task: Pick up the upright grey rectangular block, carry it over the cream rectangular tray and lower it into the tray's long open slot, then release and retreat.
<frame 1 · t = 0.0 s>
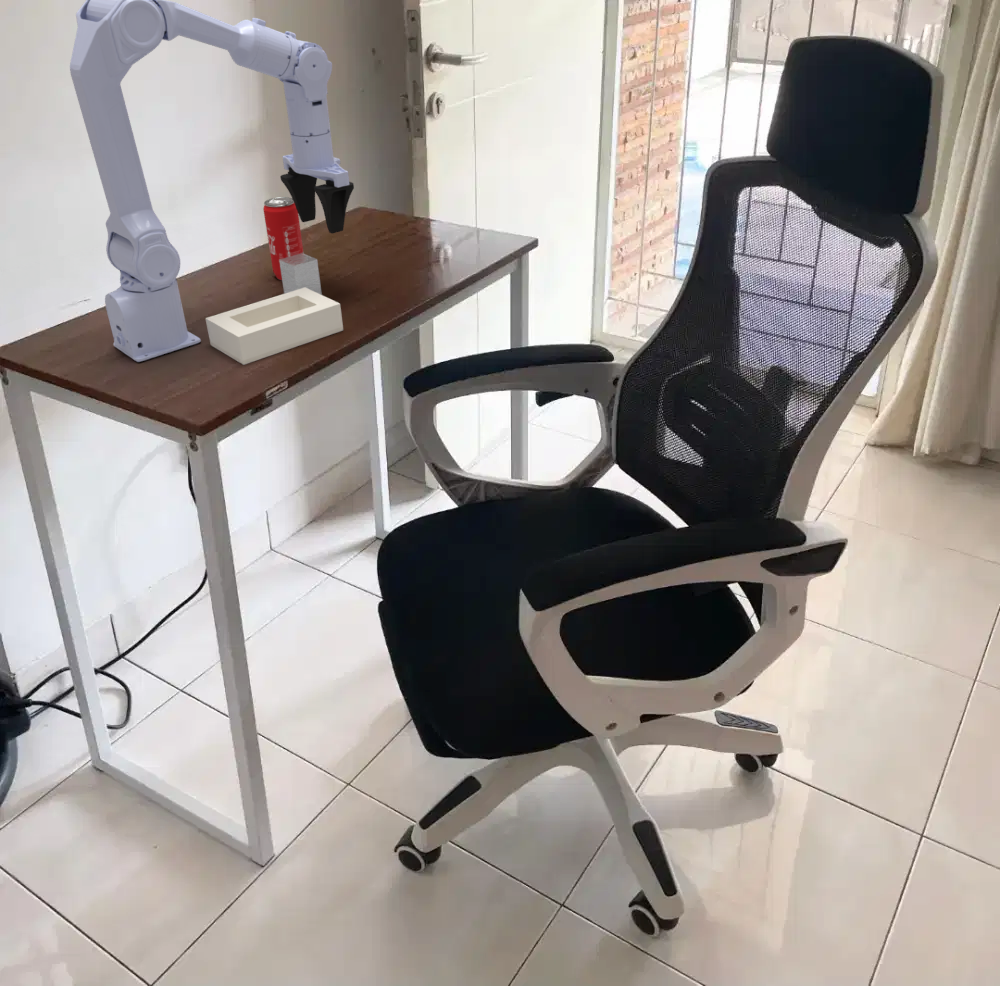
hand: (322, 226, 150), 10 cm above the table, fingers open, 7 cm apart
grey rectangular block: (304, 304, 151), on the table
cream rectangular tray: (277, 337, 141), on the table
beverage can: (290, 277, 162), on the table
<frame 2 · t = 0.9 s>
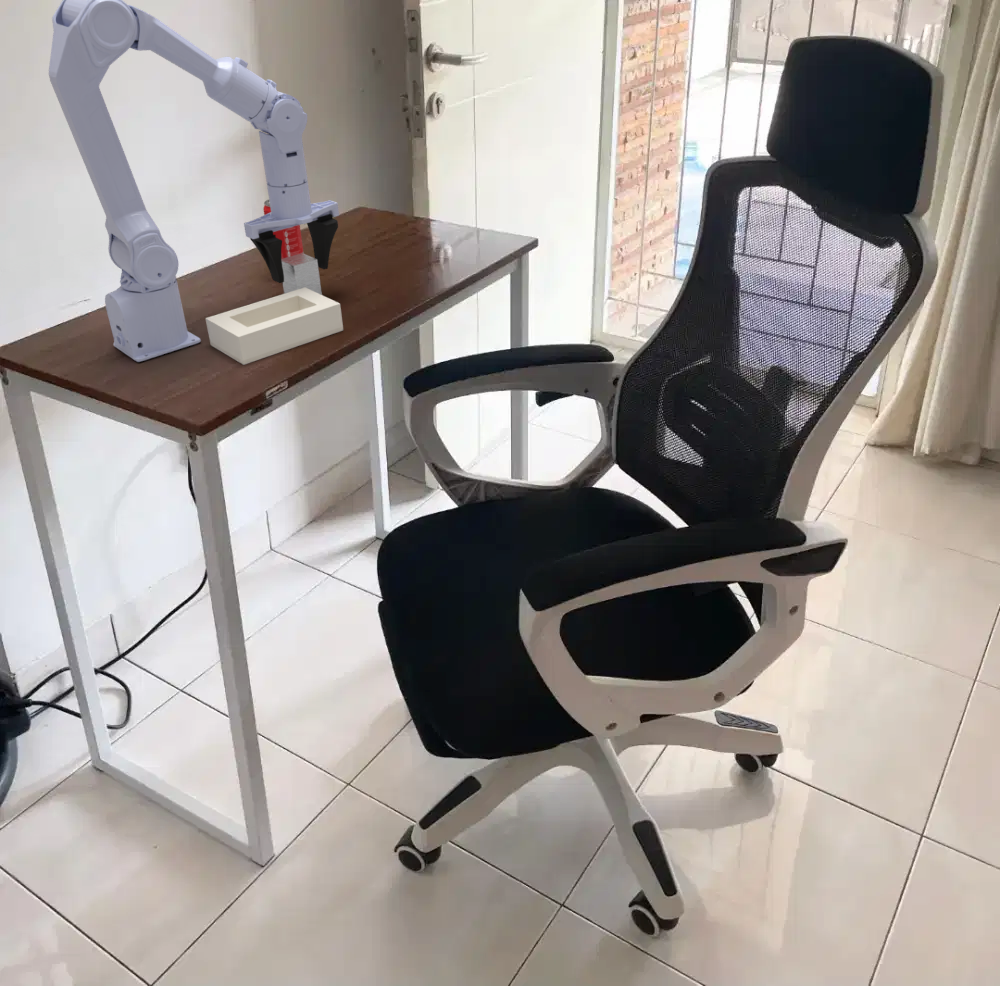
hand: (300, 274, 149), 5 cm above the table, fingers open, 7 cm apart
nothing on the table moved.
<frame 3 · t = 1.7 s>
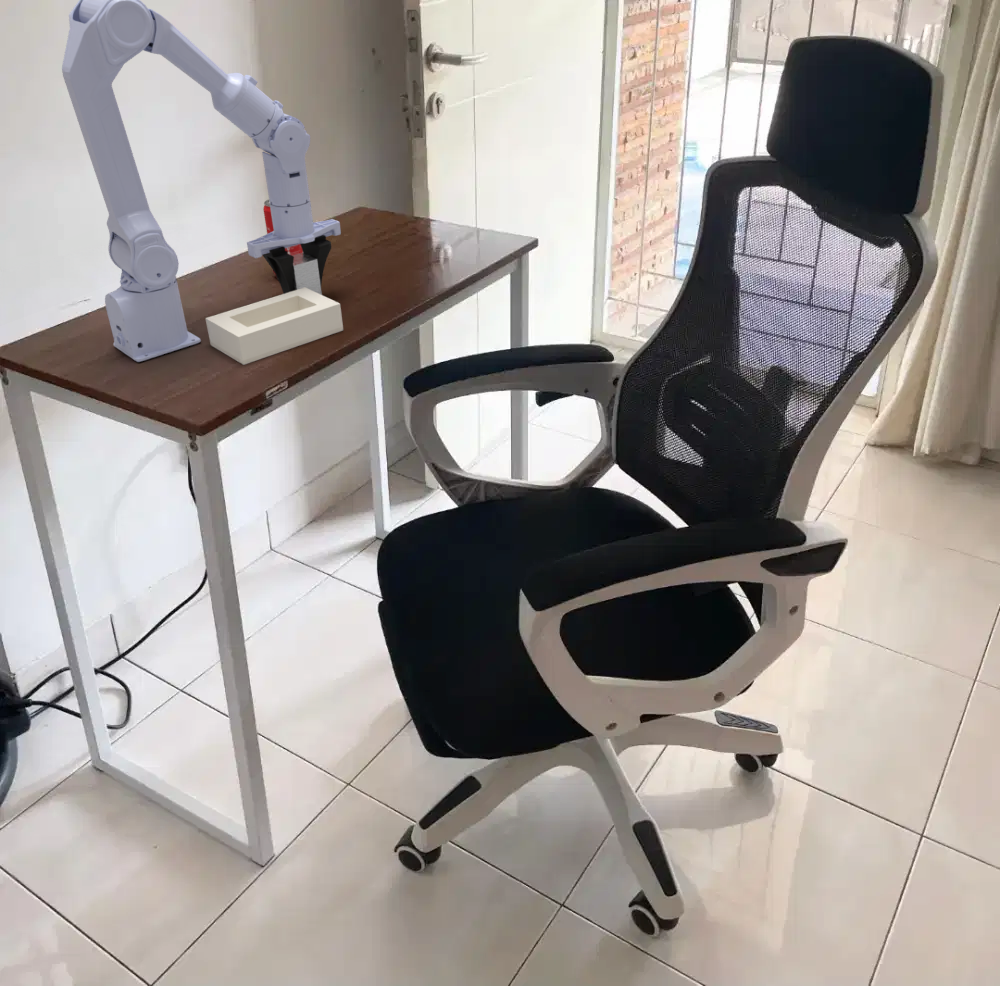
hand: (302, 292, 150), 2 cm above the table, fingers closed on grey rectangular block, 4 cm apart
grey rectangular block: (304, 304, 151), on the table, touching gripper
everything else where it was.
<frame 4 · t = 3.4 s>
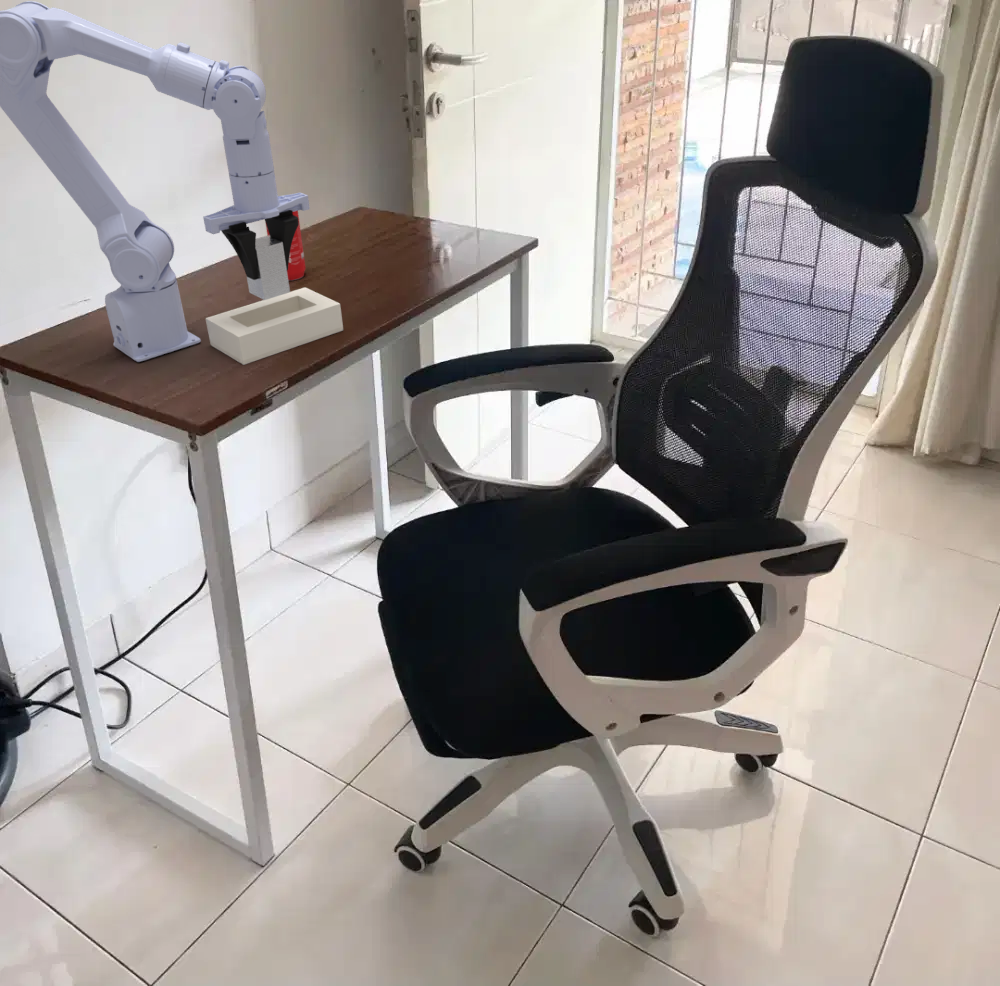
hand: (267, 273, 136), 9 cm above the table, fingers closed on grey rectangular block, 4 cm apart
grey rectangular block: (269, 292, 137), point 7 cm above the table, touching gripper
everything else where it was.
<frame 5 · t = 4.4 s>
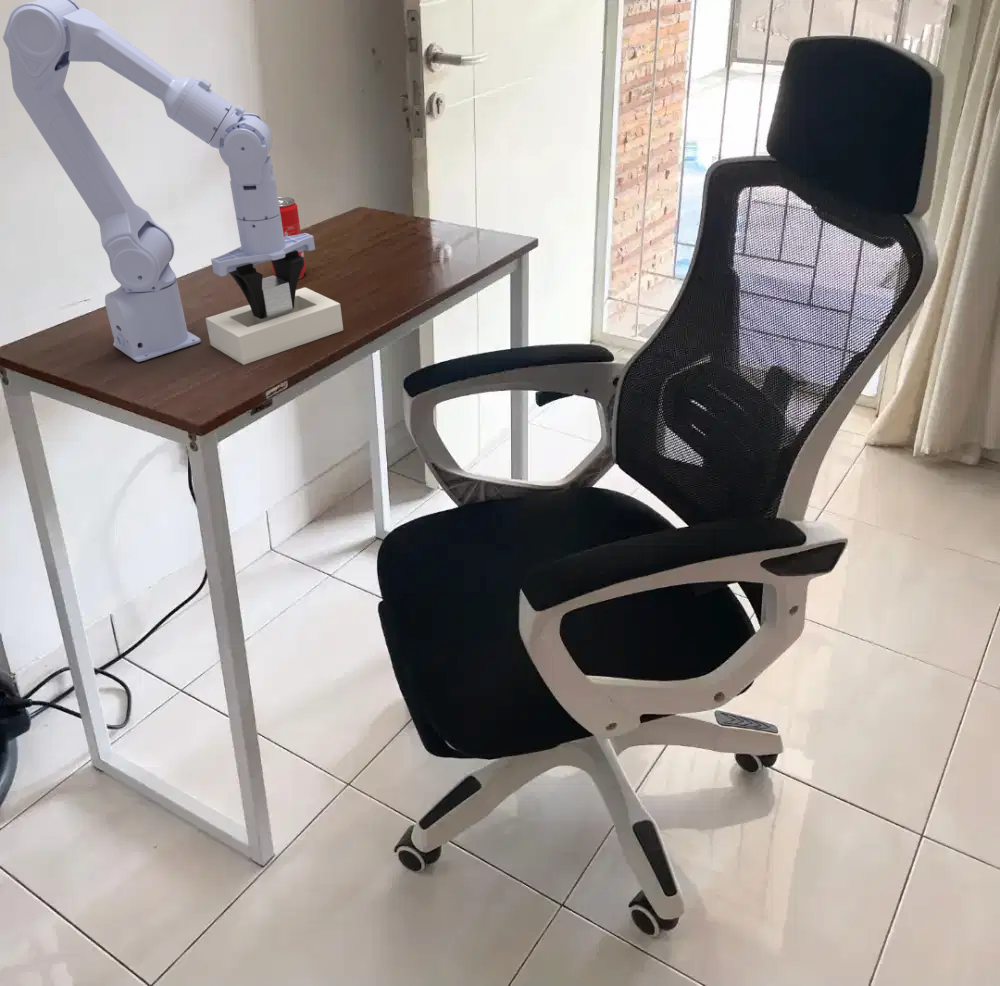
hand: (273, 311, 139), 4 cm above the table, fingers closed on grey rectangular block, 4 cm apart
grey rectangular block: (276, 330, 140), point 1 cm above the table, touching gripper
everything else where it was.
when the fingers open (3 cm above the table, at t = 4.9 s): grey rectangular block stays where it is, resting on cream rectangular tray.
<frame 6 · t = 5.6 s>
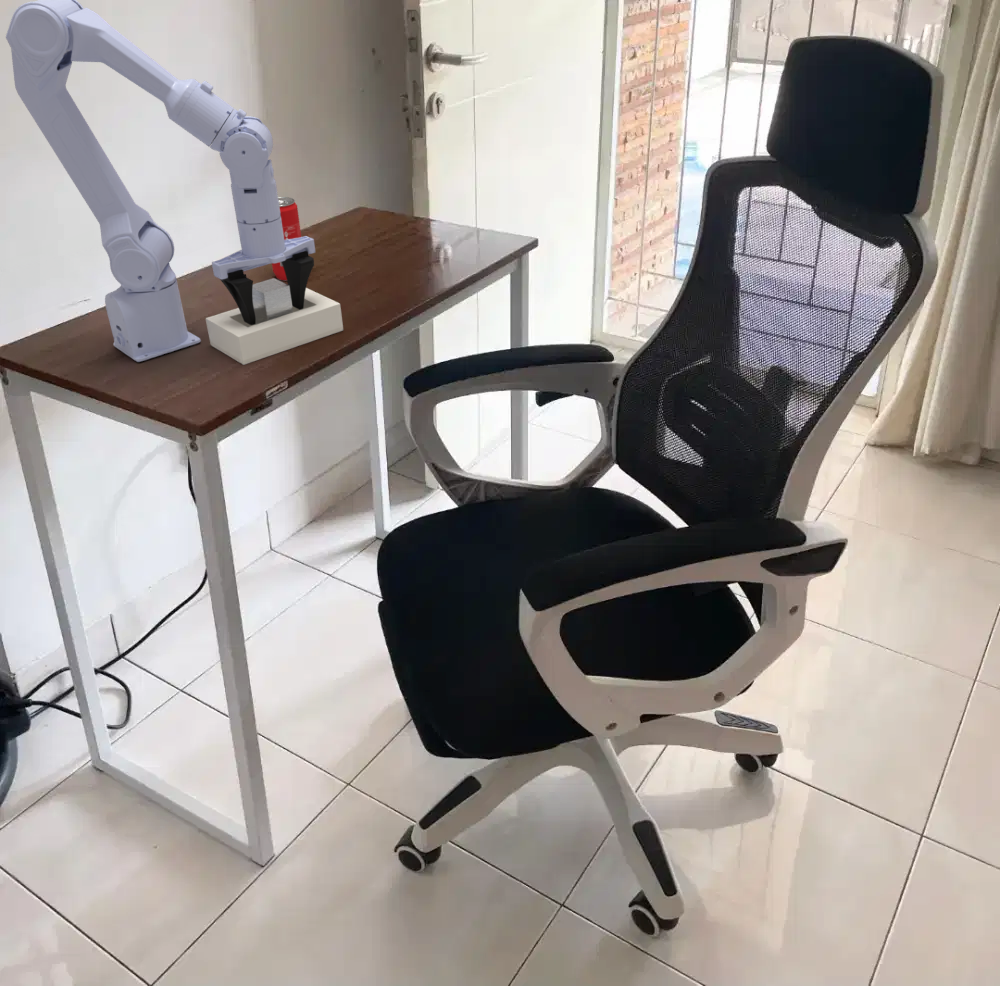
hand: (274, 314, 139), 3 cm above the table, fingers open, 7 cm apart
grey rectangular block: (276, 333, 141), point 1 cm above the table, touching cream rectangular tray
everything else where it was.
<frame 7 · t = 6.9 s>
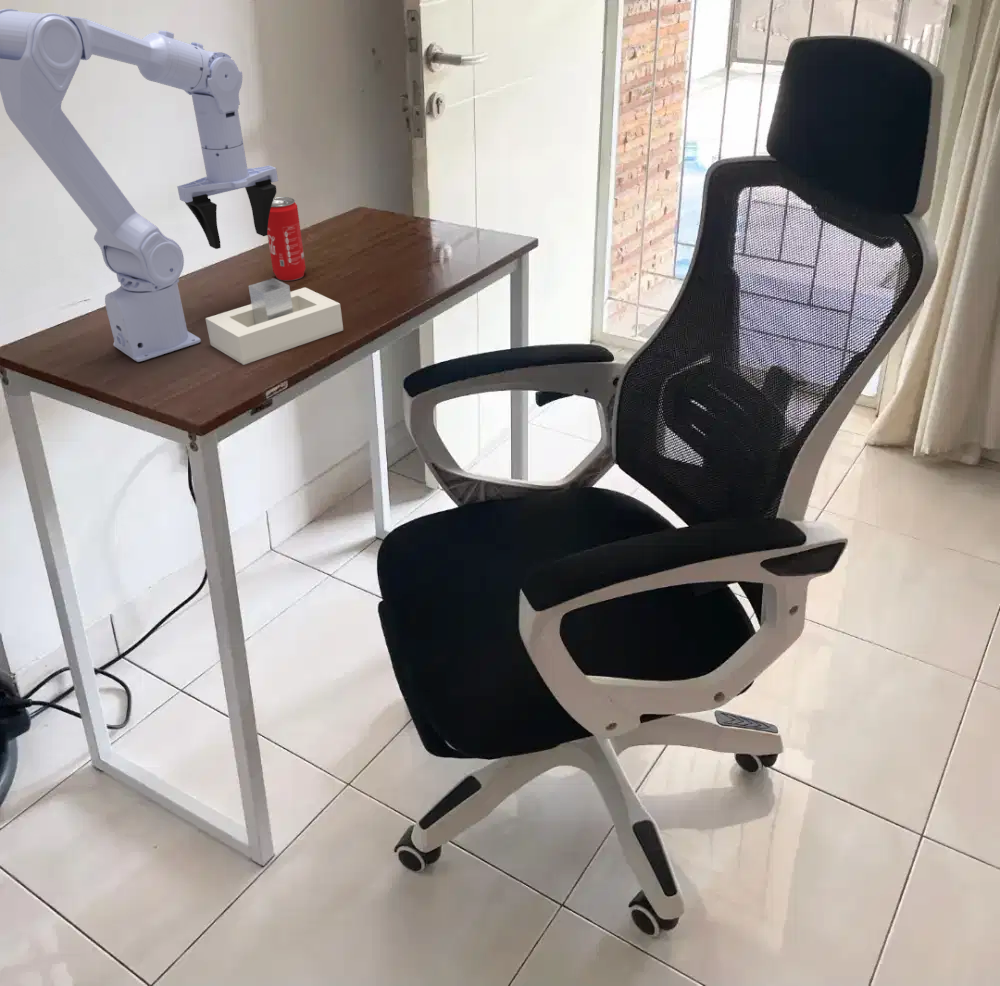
hand: (238, 240, 146), 10 cm above the table, fingers open, 7 cm apart
nothing on the table moved.
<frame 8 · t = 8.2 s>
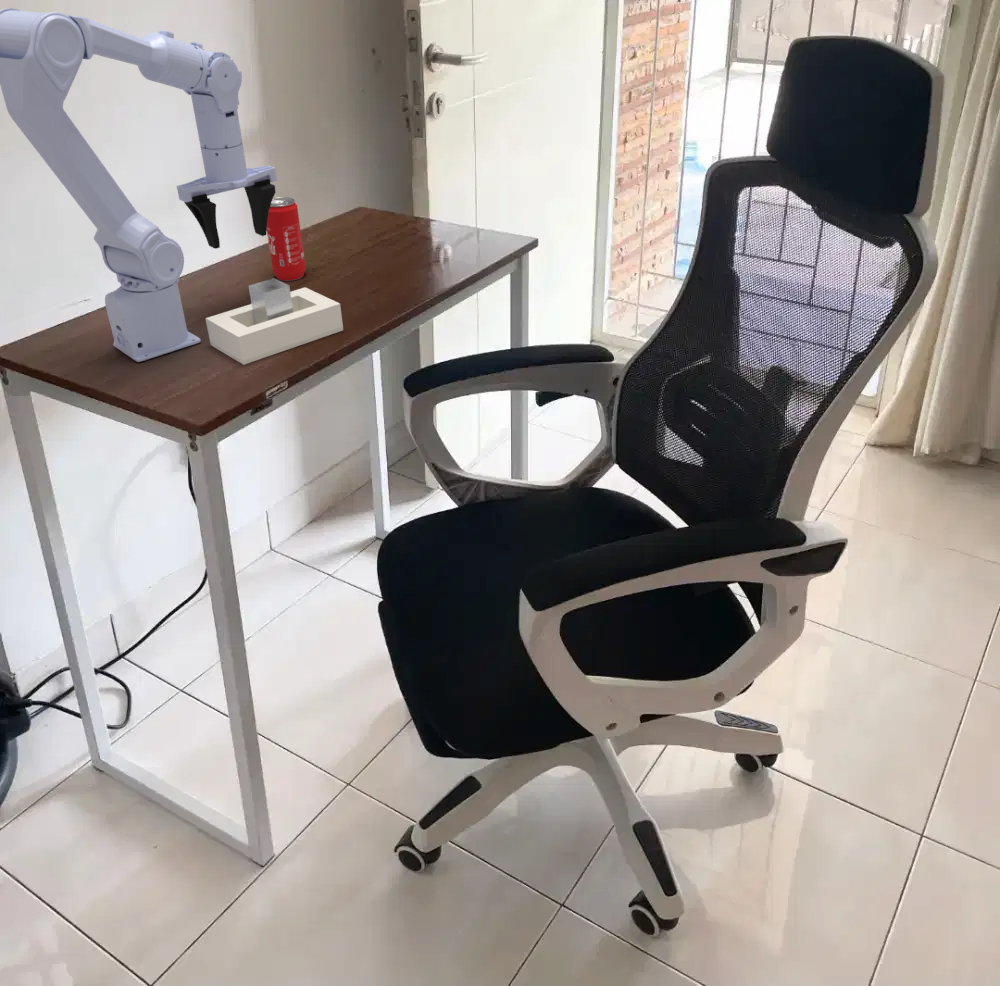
hand: (238, 240, 146), 10 cm above the table, fingers open, 7 cm apart
nothing on the table moved.
at the end: grey rectangular block inside the target area on the cream rectangular tray (0.2 cm from its centre), point 0.6 cm above the cream rectangular tray's base; grey rectangular block tilted 0°; the gripper is holding nothing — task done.
